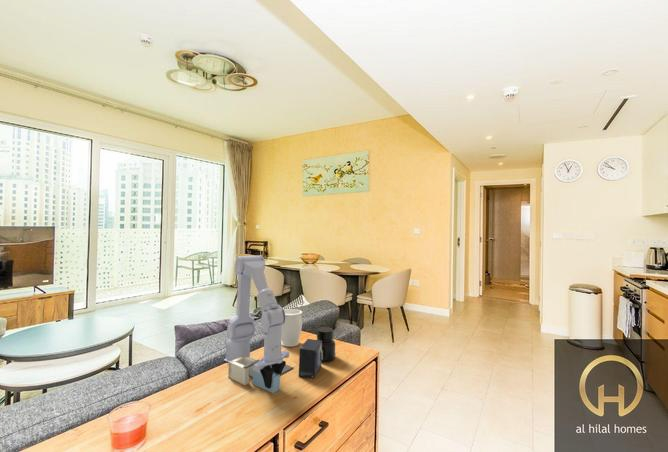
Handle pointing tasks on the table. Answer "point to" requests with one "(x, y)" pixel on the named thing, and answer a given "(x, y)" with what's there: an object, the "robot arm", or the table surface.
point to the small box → (310, 358)
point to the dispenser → (241, 369)
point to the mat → (286, 368)
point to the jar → (291, 327)
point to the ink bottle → (326, 343)
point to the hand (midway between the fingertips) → (271, 385)
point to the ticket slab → (260, 382)
